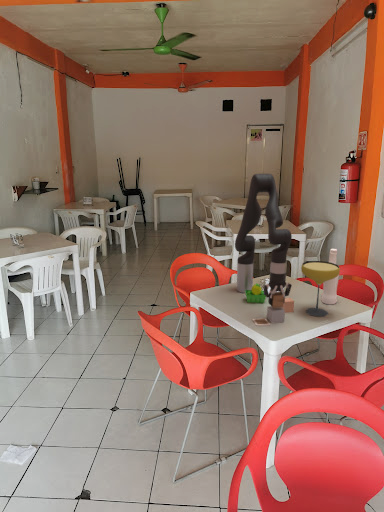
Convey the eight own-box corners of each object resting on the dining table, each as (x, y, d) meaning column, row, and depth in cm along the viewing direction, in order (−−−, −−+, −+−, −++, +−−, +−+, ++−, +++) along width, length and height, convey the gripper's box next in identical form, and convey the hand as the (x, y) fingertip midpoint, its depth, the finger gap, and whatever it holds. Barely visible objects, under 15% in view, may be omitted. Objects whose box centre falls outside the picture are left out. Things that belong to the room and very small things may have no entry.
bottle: (317, 301, 214) (322, 248, 206) (328, 298, 217) (333, 246, 210) (329, 306, 207) (333, 251, 199) (339, 303, 210) (345, 249, 203)
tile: (251, 320, 190) (252, 318, 190) (265, 319, 191) (265, 317, 191) (256, 326, 183) (256, 324, 183) (270, 325, 184) (270, 323, 184)
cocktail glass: (302, 319, 190) (306, 270, 184) (295, 305, 208) (298, 260, 202) (340, 320, 189) (344, 271, 183) (329, 306, 207) (333, 260, 200)
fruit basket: (265, 298, 218) (266, 279, 215) (266, 304, 209) (267, 285, 206) (244, 298, 219) (245, 279, 216) (245, 304, 210) (246, 284, 207)
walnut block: (269, 303, 190) (270, 292, 189) (279, 303, 191) (279, 291, 190) (273, 307, 186) (273, 296, 184) (283, 307, 186) (283, 295, 185)
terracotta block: (280, 309, 203) (281, 298, 202) (289, 308, 204) (290, 297, 203) (284, 312, 199) (284, 301, 197) (293, 312, 199) (294, 301, 198)
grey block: (266, 317, 193) (267, 306, 191) (279, 316, 194) (279, 305, 192) (271, 323, 187) (272, 311, 185) (284, 322, 188) (285, 310, 186)
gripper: (289, 267, 189) (287, 300, 193) (260, 269, 186) (259, 302, 191) (295, 272, 181) (293, 306, 186) (266, 273, 179) (264, 308, 184)
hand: (276, 304), depth 188 cm, fingers closed on walnut block, 5 cm apart
